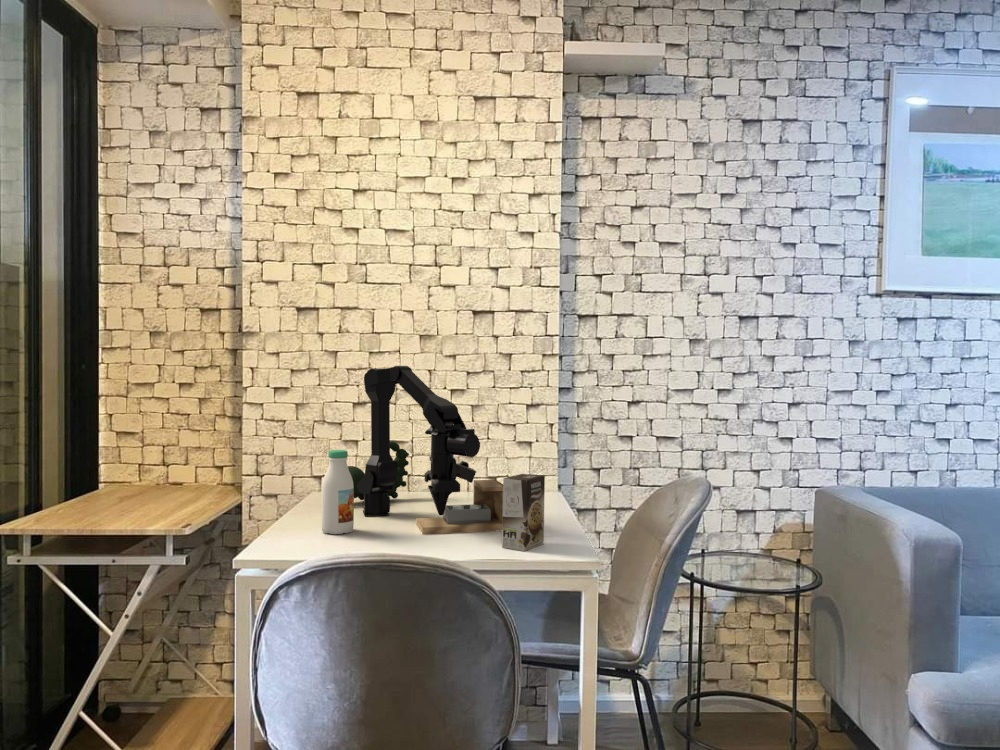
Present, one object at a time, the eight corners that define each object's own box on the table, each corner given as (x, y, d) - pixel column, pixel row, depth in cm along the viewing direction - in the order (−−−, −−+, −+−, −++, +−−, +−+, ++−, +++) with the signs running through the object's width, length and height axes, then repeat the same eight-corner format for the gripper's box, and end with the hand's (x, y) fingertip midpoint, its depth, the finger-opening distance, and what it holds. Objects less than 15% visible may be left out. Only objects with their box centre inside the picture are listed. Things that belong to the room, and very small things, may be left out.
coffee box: (525, 552, 176) (526, 480, 175) (501, 547, 179) (501, 477, 179) (545, 543, 184) (546, 474, 183) (521, 540, 187) (522, 472, 187)
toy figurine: (396, 502, 241) (316, 502, 228) (401, 440, 241) (323, 436, 228) (409, 507, 233) (327, 507, 220) (414, 443, 233) (333, 440, 220)
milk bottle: (326, 536, 189) (326, 453, 188) (318, 529, 195) (318, 449, 195) (357, 533, 192) (358, 451, 192) (348, 526, 199) (348, 448, 198)
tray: (447, 524, 196) (447, 509, 195) (443, 519, 202) (443, 504, 202) (490, 522, 198) (490, 507, 198) (484, 517, 204) (485, 502, 204)
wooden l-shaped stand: (422, 534, 192) (422, 489, 192) (416, 524, 202) (416, 481, 202) (505, 530, 197) (506, 486, 197) (495, 521, 208) (495, 479, 207)
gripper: (481, 457, 191) (480, 521, 191) (466, 448, 209) (465, 507, 209) (436, 458, 188) (434, 523, 189) (424, 449, 206) (423, 508, 207)
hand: (441, 515), depth 198 cm, fingers closed, pressing on tray
